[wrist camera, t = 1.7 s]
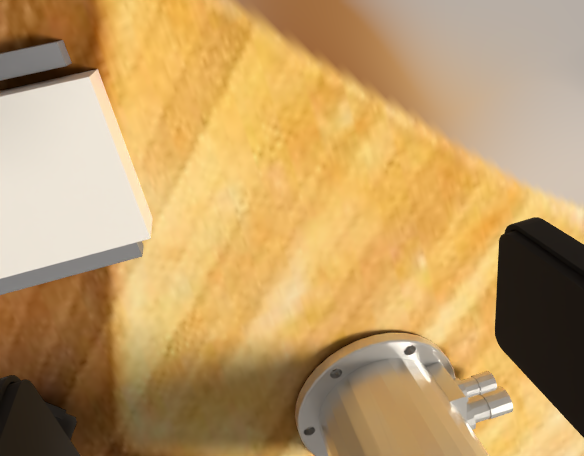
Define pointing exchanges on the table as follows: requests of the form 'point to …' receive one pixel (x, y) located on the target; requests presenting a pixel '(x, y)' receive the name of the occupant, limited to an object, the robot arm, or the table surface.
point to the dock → (29, 63)
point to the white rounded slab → (64, 175)
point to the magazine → (63, 419)
